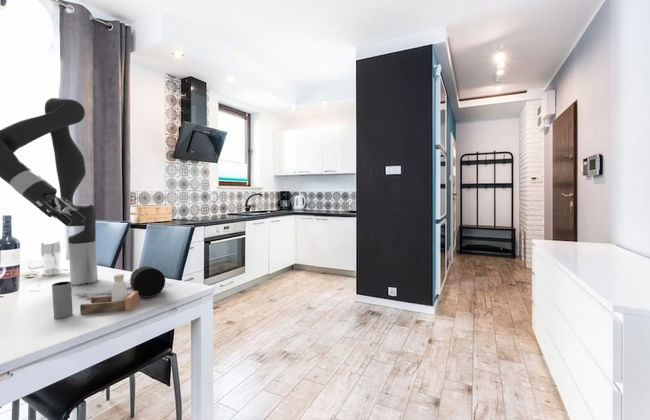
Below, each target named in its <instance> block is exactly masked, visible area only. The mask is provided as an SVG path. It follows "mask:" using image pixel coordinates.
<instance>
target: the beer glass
mask: <svg viewBox="0 0 650 420" xmlns="http://www.w3.org/2000/svg"><path fill="white" fill-rule="evenodd" d="M60 243H61V242H60V241H57V240H56V241H55V240H54V241H53V240H52V241H46V242H45V241H43V242H41V243H40V245H41V247H40V254H41V259H42V262H43V263H42V264H43V266H44V272H43V276H45V275H46V277H47V276H48V277H49V276H55V275H60V274H61V273H62V271H61V268H60V260H61V254H62V253H61V252H62V251H61V244H60Z"/></svg>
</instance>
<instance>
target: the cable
mask: <svg viewBox="0 0 650 420" xmlns="http://www.w3.org/2000/svg"><path fill="white" fill-rule="evenodd" d="M129 280H130V281H129V282H130V283H129V284H130V286H131V288H132V290H133V291H138V295H139V297H142V298H143V297H144V298H151V297H155V296H157V295H159V294H160V293H161V292H162V291H163V289H164V287H165V286H166V284H165V283H166V278H165V275H164V274H163V272H162V271H161V270H159V269H156V268H155V267H152V266H150V265H149V266H147V265H146V266H141V267H137V268H135V269H133V270H132V271H131V273H130V279H129Z"/></svg>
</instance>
